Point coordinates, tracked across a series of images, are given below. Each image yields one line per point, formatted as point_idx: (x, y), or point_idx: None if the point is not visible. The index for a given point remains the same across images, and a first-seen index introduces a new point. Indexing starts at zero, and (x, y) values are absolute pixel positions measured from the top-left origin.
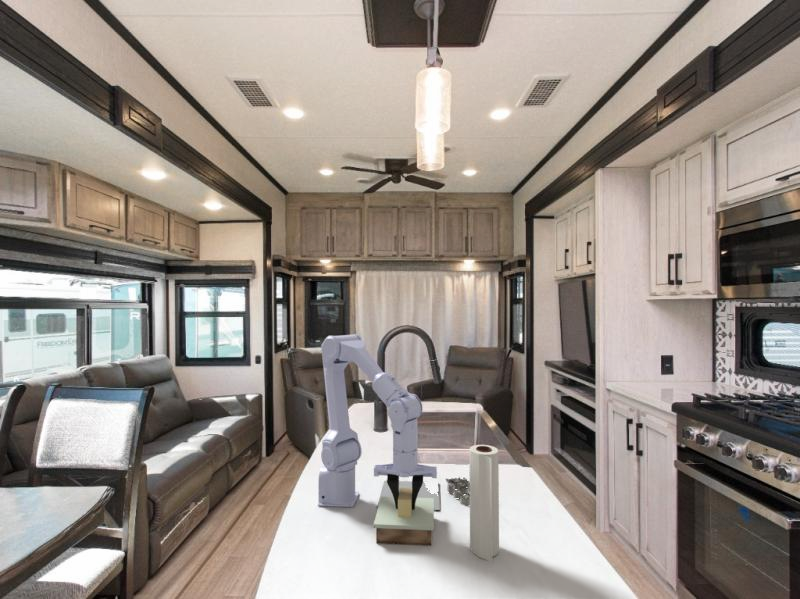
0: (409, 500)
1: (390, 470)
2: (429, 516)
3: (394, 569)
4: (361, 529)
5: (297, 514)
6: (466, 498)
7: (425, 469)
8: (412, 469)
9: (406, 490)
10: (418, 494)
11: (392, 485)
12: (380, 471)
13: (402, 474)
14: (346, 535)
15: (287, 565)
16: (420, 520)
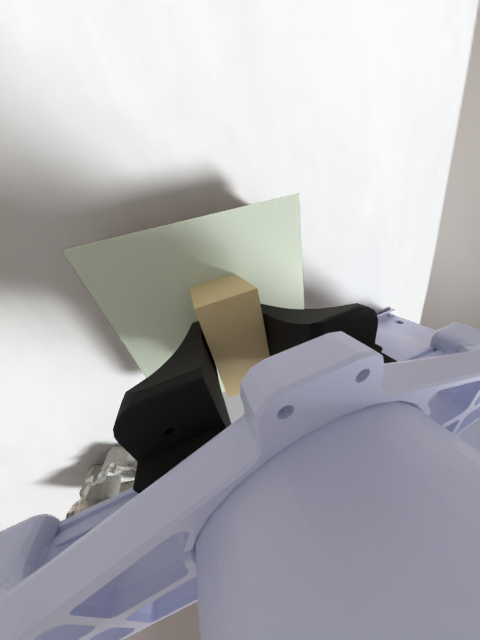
0: (202, 305)
1: (457, 380)
2: (126, 318)
3: (160, 61)
4: (308, 263)
5: (421, 270)
6: (115, 462)
7: (77, 622)
8: (233, 543)
9: (245, 374)
10: (233, 422)
11: (325, 313)
12: (477, 352)
13: (348, 361)
14: (333, 227)
15: (444, 30)
16: (145, 279)
